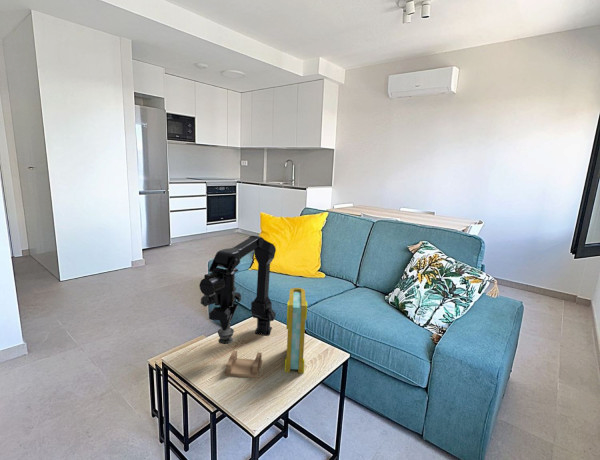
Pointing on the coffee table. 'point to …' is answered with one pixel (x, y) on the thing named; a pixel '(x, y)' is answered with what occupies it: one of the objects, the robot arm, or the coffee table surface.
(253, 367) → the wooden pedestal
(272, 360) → the coffee table surface
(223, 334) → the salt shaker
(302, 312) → the book
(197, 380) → the coffee table surface
